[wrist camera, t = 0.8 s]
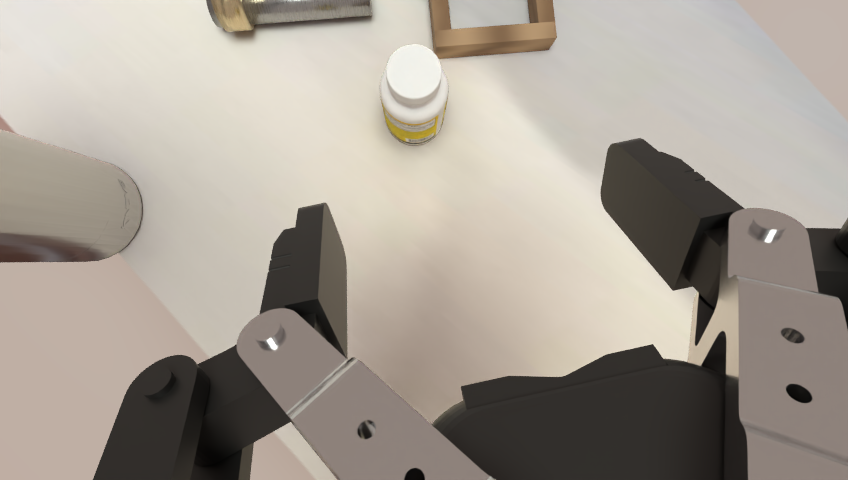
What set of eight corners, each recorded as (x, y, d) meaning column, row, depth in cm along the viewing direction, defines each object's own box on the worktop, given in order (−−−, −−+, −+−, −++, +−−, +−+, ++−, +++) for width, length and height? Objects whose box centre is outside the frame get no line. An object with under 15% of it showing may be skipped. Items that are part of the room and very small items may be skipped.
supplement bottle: (408, 78, 39) (407, 18, 29) (454, 113, 39) (468, 64, 29) (373, 123, 38) (360, 77, 29) (419, 158, 38) (422, 124, 29)
